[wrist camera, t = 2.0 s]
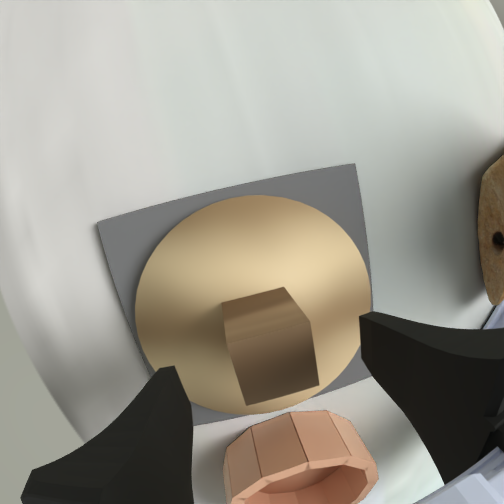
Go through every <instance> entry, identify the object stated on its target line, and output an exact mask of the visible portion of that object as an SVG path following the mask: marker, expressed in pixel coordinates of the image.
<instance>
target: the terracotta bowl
mask: <svg viewBox="0 0 504 504" xmlns="http://www.w3.org/2000/svg"><path fill="white" fill-rule="evenodd" d="M223 476H224V485H225V494H226V503H227V504H357V503H359V502H360V501H362V500H363V499H364V498H365V497H366V496H367V494H368V493H369V492H370V490H371V489H372V488H373V486H374V485H375V484H376V482H377V481H378V479H379V478H378V472H377V467H376V462H375V461H374V459H373V458H372V456H371V454H370V453H369V451H368V449H367V448H366V446H365V445H364V443H363V441H362V440H361V438H360V436H359V435H358V433H357V432H356V430H355V428H354V427H353V425H352V423H351V422H350V421H349V420H346V419H344V418H342V417H340V416H338V415H336V414H333V413H331V412H329V411H326V410H325V411H307V412H290V413H289V412H288V413H286V414H283V415H281V416H278V417H275V418H273V419H270V420H267V421H265V422H262V423H259V424H256V425H254V426H251V427H250V428H248V429H247V430H246V431H245V432H244V433H243V434H242V435H241V436H239V437H238V438H237V439H236V440H235V441H234V442H233V443H231V444H230V445H229V446H228V447H227V448H226V453H225V458H224V464H223Z"/></svg>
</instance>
